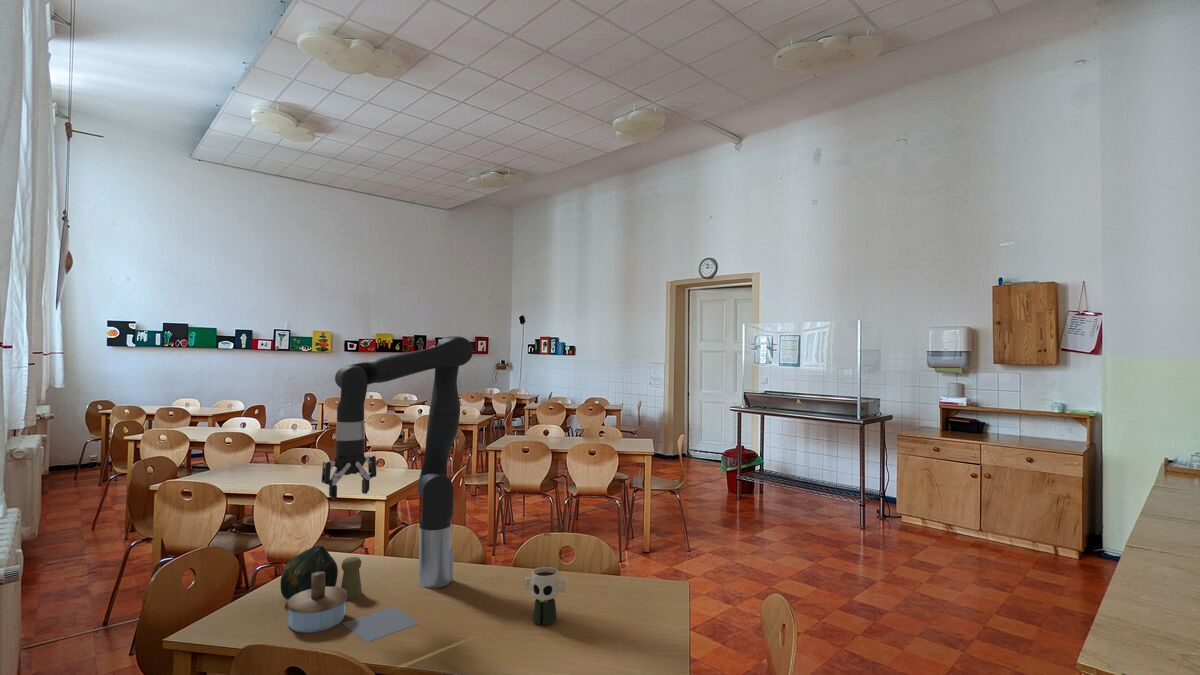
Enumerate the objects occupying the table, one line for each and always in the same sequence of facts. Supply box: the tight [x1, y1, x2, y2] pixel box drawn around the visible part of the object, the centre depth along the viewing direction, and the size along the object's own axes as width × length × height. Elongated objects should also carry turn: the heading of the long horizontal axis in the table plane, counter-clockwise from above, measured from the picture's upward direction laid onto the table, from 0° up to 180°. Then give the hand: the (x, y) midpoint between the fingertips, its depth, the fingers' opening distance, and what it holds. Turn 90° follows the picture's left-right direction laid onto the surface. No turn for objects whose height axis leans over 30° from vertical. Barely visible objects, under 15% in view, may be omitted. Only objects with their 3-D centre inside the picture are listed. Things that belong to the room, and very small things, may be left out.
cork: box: [340, 556, 363, 600], centre depth 169 cm, size 6×6×11 cm
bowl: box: [287, 600, 347, 634], centre depth 153 cm, size 13×13×6 cm
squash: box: [280, 544, 339, 601], centre depth 170 cm, size 14×15×15 cm
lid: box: [286, 572, 348, 613], centre depth 153 cm, size 14×14×7 cm
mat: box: [342, 606, 421, 643], centre depth 152 cm, size 14×14×1 cm
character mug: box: [524, 566, 566, 626], centre depth 155 cm, size 11×7×13 cm, turn 79°
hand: (349, 496), depth 164 cm, fingers open, 8 cm apart
